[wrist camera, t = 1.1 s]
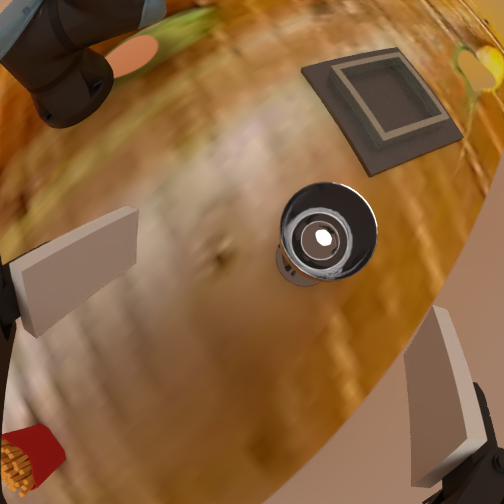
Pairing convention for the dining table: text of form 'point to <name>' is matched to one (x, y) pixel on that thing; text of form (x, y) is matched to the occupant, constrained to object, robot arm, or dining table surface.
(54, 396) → the dining table surface
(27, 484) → the french fries
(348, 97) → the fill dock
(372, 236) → the wine glass
